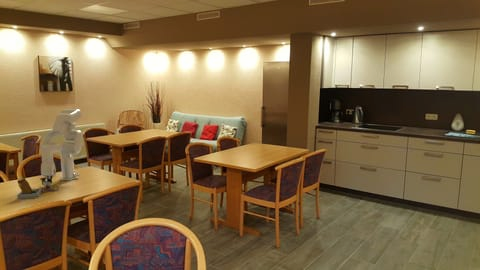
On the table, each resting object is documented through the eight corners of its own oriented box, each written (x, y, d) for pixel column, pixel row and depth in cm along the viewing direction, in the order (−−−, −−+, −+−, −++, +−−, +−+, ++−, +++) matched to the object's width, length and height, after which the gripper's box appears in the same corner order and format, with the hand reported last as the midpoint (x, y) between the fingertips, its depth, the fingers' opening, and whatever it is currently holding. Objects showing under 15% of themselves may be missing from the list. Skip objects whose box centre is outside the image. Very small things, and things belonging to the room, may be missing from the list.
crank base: (58, 188, 274) (57, 184, 274) (56, 190, 269) (56, 187, 268) (29, 190, 269) (28, 186, 268) (26, 192, 263) (26, 189, 262)
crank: (52, 187, 270) (52, 180, 269) (46, 188, 267) (45, 181, 266) (46, 183, 279) (46, 176, 278) (40, 184, 276) (39, 177, 275)
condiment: (22, 194, 257) (14, 181, 252) (34, 188, 262) (27, 175, 258) (25, 197, 252) (17, 183, 247) (37, 191, 257) (29, 177, 252)
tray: (41, 192, 264) (41, 188, 264) (37, 197, 253) (37, 193, 253) (22, 193, 261) (22, 190, 260) (17, 199, 250) (17, 195, 249)
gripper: (35, 161, 269) (37, 184, 272) (52, 162, 267) (54, 185, 270) (43, 159, 277) (44, 181, 280) (59, 160, 274) (61, 182, 277)
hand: (49, 183), depth 275 cm, fingers closed
